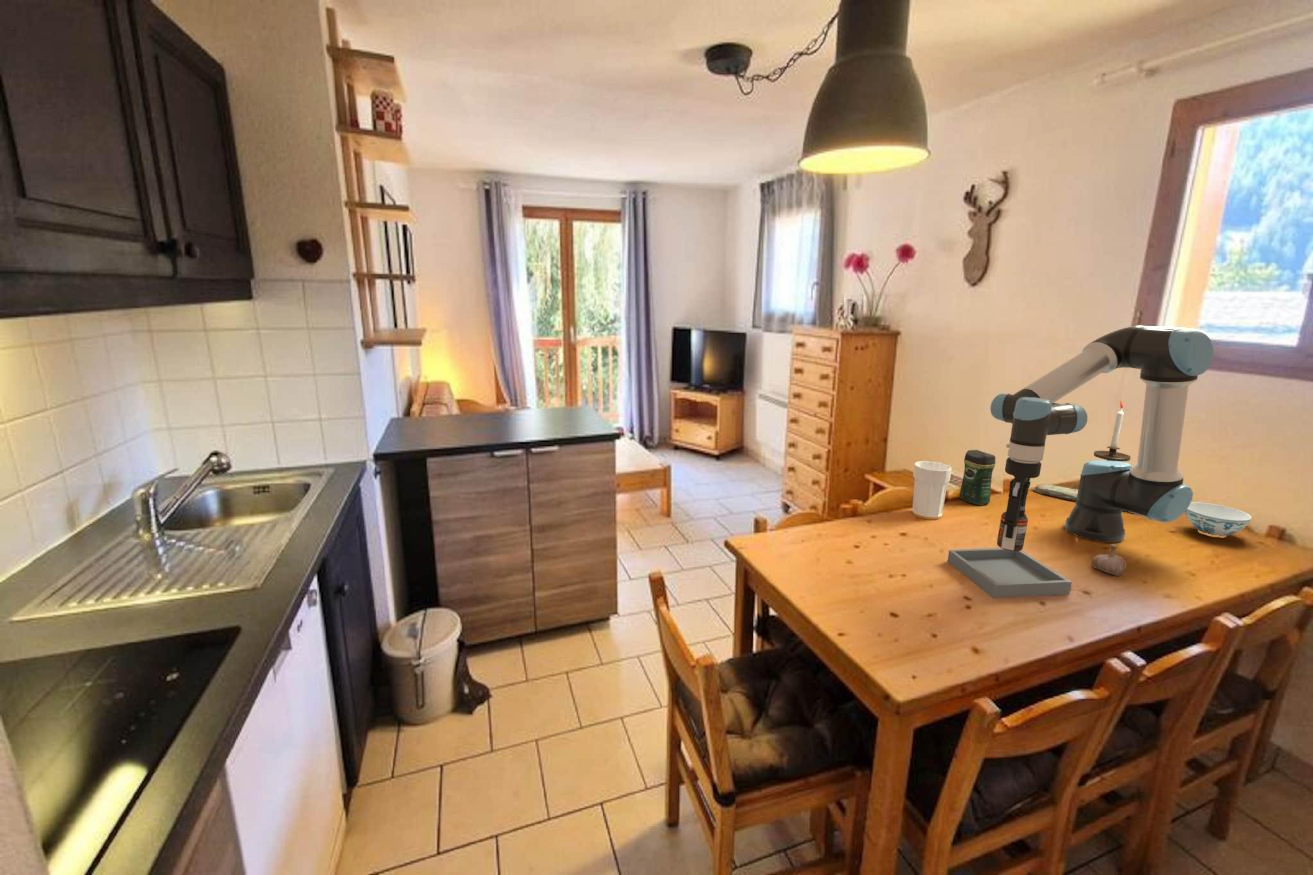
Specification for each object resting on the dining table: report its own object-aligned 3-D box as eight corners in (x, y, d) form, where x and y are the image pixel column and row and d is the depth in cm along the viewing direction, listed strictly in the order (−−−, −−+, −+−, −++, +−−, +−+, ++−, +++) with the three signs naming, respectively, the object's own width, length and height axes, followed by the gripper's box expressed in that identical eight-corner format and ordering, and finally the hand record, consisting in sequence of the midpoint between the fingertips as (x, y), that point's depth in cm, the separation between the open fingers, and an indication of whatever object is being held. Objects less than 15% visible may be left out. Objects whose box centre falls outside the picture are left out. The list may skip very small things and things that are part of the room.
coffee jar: (993, 504, 206) (1001, 454, 201) (975, 506, 203) (982, 456, 199) (972, 495, 215) (979, 447, 210) (954, 497, 212) (961, 448, 208)
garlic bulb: (1126, 580, 152) (1132, 552, 150) (1091, 573, 156) (1097, 546, 154) (1121, 568, 158) (1127, 541, 156) (1088, 562, 162) (1094, 536, 160)
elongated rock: (1037, 491, 224) (1031, 499, 217) (1038, 478, 223) (1032, 485, 216) (1156, 509, 200) (1153, 518, 194) (1158, 495, 199) (1155, 504, 192)
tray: (1014, 558, 164) (1016, 547, 163) (1069, 594, 145) (1071, 581, 144) (947, 561, 162) (949, 549, 162) (993, 597, 143) (995, 585, 142)
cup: (951, 521, 191) (958, 470, 187) (917, 521, 191) (923, 470, 187) (935, 508, 202) (942, 460, 198) (903, 508, 202) (908, 460, 198)
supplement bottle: (991, 542, 154) (997, 502, 151) (1012, 542, 155) (1019, 502, 152) (1006, 552, 148) (1013, 511, 146) (1028, 551, 149) (1035, 510, 146)
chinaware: (1259, 544, 173) (1266, 520, 172) (1208, 544, 174) (1214, 520, 172) (1213, 524, 188) (1219, 502, 186) (1166, 524, 188) (1172, 502, 186)
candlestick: (1079, 487, 223) (1097, 398, 215) (1102, 485, 226) (1119, 396, 217) (1107, 497, 213) (1126, 403, 204) (1130, 494, 216) (1149, 402, 207)
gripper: (1013, 449, 155) (1000, 529, 161) (999, 464, 141) (985, 552, 147) (1047, 454, 150) (1032, 536, 156) (1035, 470, 136) (1020, 561, 142)
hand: (1009, 544), depth 151 cm, fingers closed on supplement bottle, 6 cm apart
